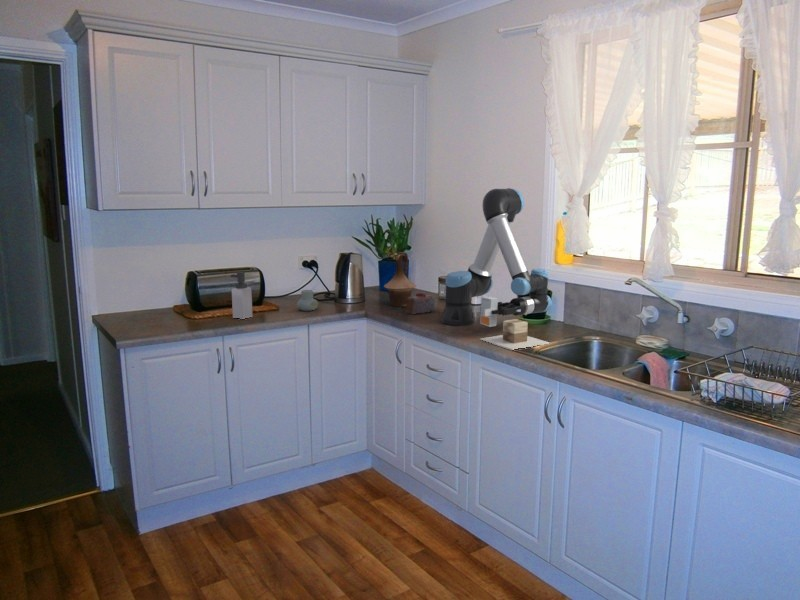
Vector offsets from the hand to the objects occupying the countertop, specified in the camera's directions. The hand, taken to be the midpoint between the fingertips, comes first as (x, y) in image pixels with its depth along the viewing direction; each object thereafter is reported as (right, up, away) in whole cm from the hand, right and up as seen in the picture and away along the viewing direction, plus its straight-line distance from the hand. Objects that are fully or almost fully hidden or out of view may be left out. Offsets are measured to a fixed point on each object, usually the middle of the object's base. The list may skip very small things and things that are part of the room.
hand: (479, 311), depth 268 cm
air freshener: (-80, -1, +58) cm, 99 cm away
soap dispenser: (-110, -4, +39) cm, 117 cm away
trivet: (+14, -13, -5) cm, 19 cm away
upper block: (+14, -8, -6) cm, 17 cm away
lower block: (+14, -12, -5) cm, 19 cm away
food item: (-23, -2, +54) cm, 58 cm away
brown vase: (-33, +2, +73) cm, 80 cm away
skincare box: (+4, -6, +4) cm, 8 cm away
